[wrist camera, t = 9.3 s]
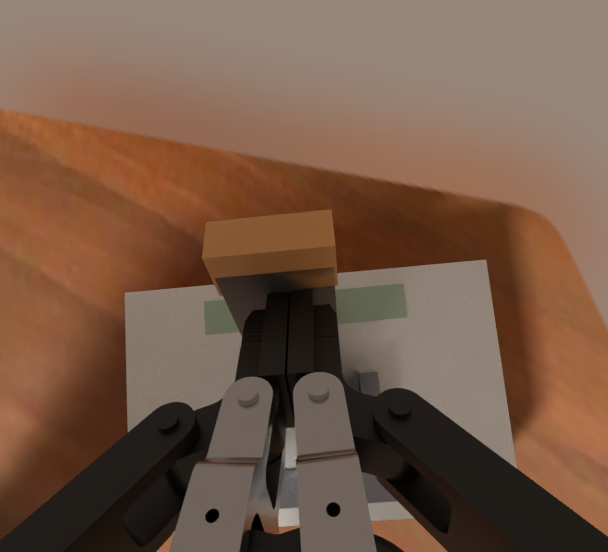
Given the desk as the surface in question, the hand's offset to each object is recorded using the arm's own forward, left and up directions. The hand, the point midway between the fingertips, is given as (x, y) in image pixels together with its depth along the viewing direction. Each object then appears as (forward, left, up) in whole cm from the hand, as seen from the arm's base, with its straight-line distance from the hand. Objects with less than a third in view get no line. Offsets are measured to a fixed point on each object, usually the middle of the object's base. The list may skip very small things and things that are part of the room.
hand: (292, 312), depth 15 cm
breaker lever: (0, -5, -11) cm, 12 cm away
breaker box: (0, -4, -18) cm, 18 cm away
